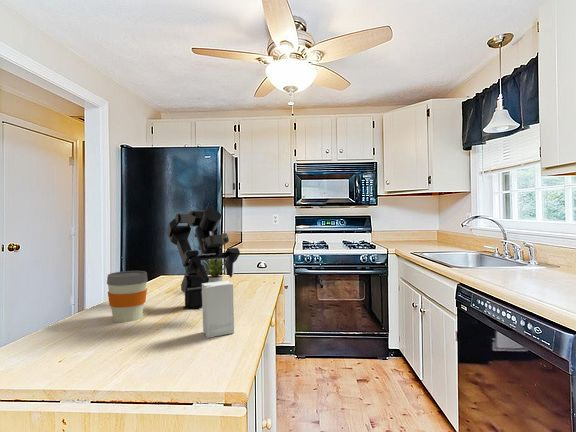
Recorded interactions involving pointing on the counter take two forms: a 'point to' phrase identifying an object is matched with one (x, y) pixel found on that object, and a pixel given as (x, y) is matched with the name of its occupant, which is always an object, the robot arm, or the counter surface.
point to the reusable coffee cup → (127, 294)
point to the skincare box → (218, 308)
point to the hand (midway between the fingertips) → (218, 278)
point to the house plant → (215, 270)
